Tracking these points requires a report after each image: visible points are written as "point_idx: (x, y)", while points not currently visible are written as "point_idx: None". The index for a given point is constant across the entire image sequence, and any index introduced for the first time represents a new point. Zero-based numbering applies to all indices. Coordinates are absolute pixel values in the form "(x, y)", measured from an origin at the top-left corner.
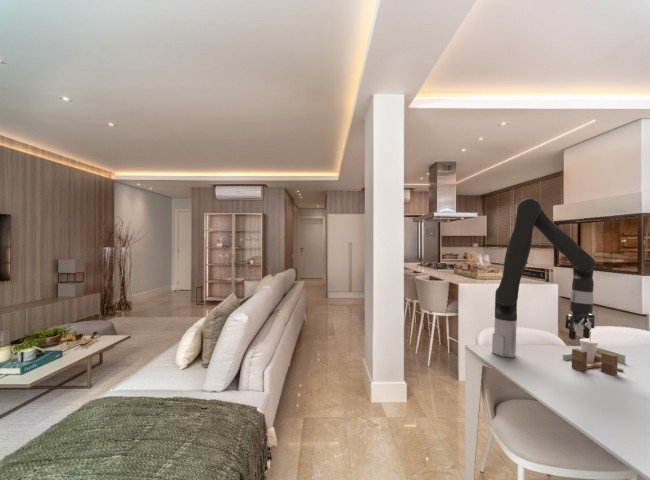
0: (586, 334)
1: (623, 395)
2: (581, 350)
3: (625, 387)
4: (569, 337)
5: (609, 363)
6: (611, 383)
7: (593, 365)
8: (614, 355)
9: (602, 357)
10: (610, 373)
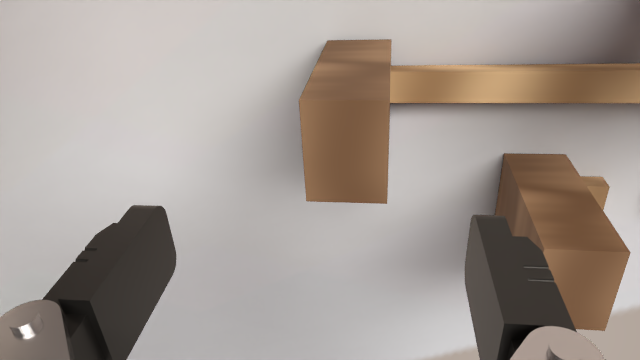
0: (477, 298)
1: (241, 349)
2: (361, 164)
3: (358, 318)
4: (134, 213)
5: None
6: (335, 274)
7: (531, 101)
8: (576, 319)
9: (531, 226)
10: (498, 212)
